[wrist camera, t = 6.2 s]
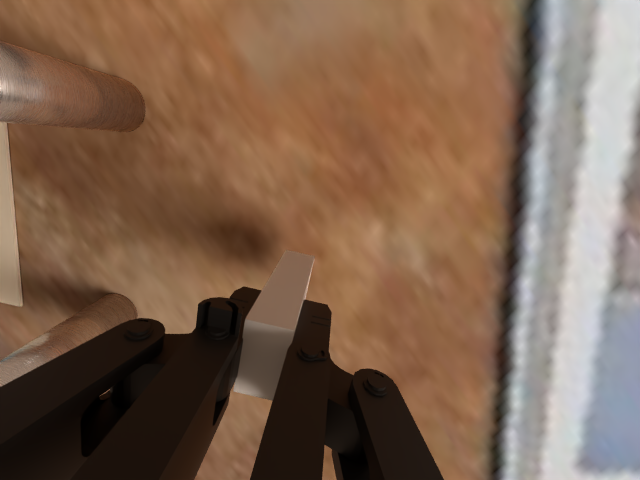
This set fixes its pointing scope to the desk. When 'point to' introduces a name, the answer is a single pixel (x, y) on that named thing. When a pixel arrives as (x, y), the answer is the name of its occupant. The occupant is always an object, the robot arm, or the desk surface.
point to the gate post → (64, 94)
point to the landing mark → (8, 229)
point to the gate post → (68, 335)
